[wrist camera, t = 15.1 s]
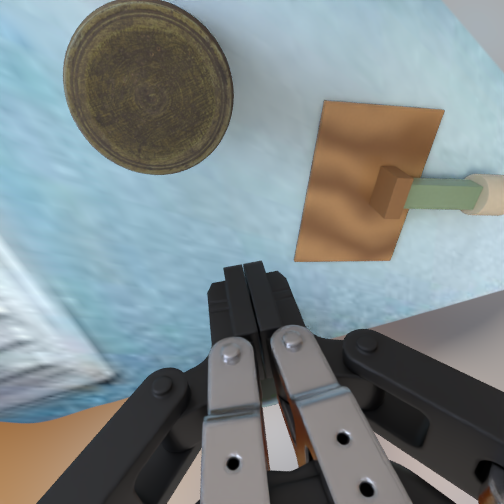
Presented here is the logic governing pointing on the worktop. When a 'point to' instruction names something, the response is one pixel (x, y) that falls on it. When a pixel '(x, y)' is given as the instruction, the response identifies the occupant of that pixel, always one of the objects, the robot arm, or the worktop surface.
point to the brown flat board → (360, 178)
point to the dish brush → (436, 193)
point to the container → (148, 86)
